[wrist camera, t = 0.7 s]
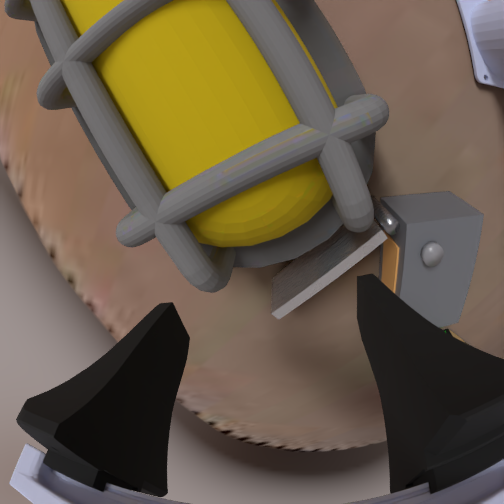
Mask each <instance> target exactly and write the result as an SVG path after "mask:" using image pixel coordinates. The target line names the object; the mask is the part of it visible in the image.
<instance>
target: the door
mask: <svg viewBox="0 0 504 504" xmlns="http://www.w3.org/2000/svg"><path fill="white" fill-rule="evenodd" d="M371 200H372V203H373V208H374V217H375V218H376V219H377V221H378V222H379V223H380V224H381V226H382V227H383V228H384V229H385V231H386V232H387V233H388V234H390V235H394V234H396V233H397V232H398V231H399V229H400V224H399V222H398V221H397V220H396V219H395V218H394V217H393V216H392V214H391V213H390V212H389V211H388V210H387V209H386V208H385V207H384V206H383V205H382V204H381V203H380V202H379V201H378V200H377V199H376V198H375V197H371ZM386 239H388V238H387V236H386V235H385V234H384V232H383V231H382V230H381V228H380V227H379V226H378V224H377V223H376V222H375V221H374V220H373V223H372V225H371V226H370V228H369V229H367V230H366V231H363V232H353V231H350V230H349V229H347V228H346V227H345V225H344V224H342V225H341V226H340V227H339V229H338V230H337V231H336V232H335V233H334V234H333V235H332V236H331V237H330V238H329V239H328V240H326V241H324V242H323V243H321V244H319V245H318V246H316V247H314V248H313V249H311V250H309V251H307V252H306V253H304V254H302V255H301V256H299V257H298V258H297V259H295V260H294V261H293V262H292V263H290V264H289V265H288V266H287V267H285V268H284V269H283V270H281V271H280V272H279V273H278V274H276V275H275V276H274V277H273V278H272V302H271V314H272V315H274V316H275V317H276V318H277V319H280V318H282V317H283V316H285V315H286V314H288V313H289V312H291V311H292V310H293V309H295V308H296V307H298V306H299V305H301V304H302V303H303V302H305V301H306V300H308V299H309V298H310V297H312V296H313V295H315V294H316V293H317V292H319V291H320V290H321V289H323V288H324V287H326V286H327V285H328V284H330V283H331V282H332V281H334V280H335V279H336V278H338V277H339V276H340V275H342V274H343V273H344V272H346V271H347V270H348V269H350V268H351V267H352V266H354V265H355V264H356V263H357V262H359V261H360V260H361V259H363V258H364V257H365V256H366V255H368V254H369V253H370V252H371V251H373V250H374V249H375V248H376V247H378V246H379V245H380V244H381V243H383V242H384V241H385V240H386Z"/></svg>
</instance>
